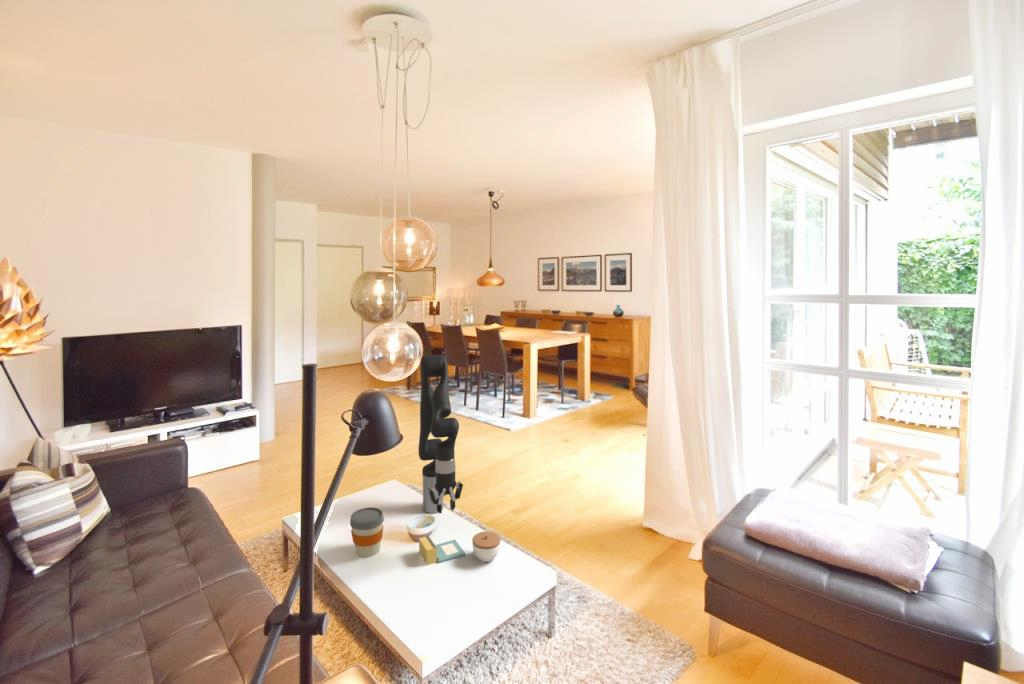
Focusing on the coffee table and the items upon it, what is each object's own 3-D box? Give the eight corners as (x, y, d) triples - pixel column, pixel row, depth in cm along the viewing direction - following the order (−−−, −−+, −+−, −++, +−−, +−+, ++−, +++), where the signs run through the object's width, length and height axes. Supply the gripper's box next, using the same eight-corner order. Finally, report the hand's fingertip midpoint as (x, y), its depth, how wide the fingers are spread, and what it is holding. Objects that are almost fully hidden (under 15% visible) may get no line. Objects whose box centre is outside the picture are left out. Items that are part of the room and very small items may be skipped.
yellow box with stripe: (419, 552, 190) (419, 538, 189) (429, 550, 192) (428, 535, 191) (427, 565, 182) (426, 549, 181) (437, 562, 184) (436, 546, 183)
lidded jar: (500, 549, 193) (500, 527, 191) (500, 565, 182) (500, 542, 181) (473, 549, 193) (473, 527, 191) (471, 566, 182) (471, 542, 181)
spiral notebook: (429, 548, 193) (429, 546, 193) (454, 541, 198) (454, 539, 198) (438, 563, 183) (438, 560, 183) (465, 555, 189) (465, 552, 188)
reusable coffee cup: (376, 561, 184) (374, 524, 182) (345, 558, 186) (343, 521, 184) (389, 543, 196) (388, 508, 194) (361, 540, 198) (359, 505, 196)
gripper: (458, 462, 192) (459, 502, 195) (424, 469, 185) (425, 511, 188) (466, 469, 186) (466, 510, 188) (430, 476, 179) (431, 519, 181)
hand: (445, 510), depth 188 cm, fingers open, 4 cm apart
